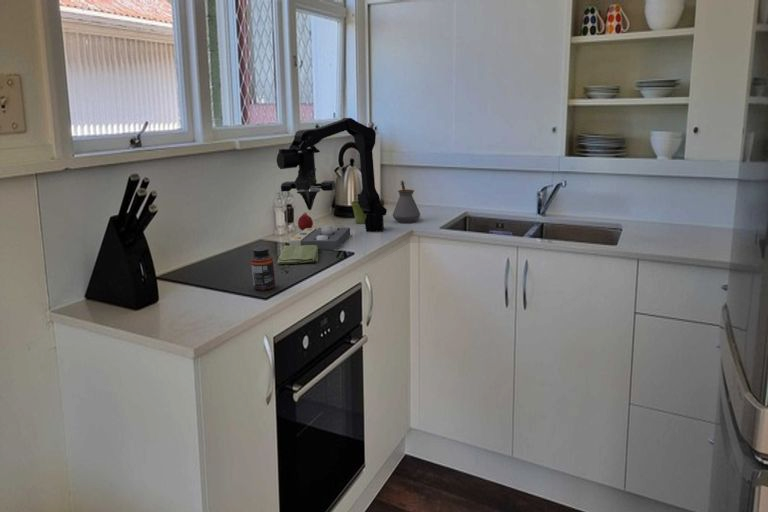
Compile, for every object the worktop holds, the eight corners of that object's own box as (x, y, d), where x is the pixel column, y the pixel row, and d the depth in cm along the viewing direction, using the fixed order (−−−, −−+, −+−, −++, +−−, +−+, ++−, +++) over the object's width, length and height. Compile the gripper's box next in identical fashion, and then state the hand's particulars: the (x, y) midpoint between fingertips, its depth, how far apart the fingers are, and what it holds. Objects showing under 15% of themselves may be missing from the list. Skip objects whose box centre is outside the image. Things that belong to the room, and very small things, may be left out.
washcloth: (276, 267, 189) (275, 257, 188) (282, 253, 206) (281, 244, 205) (318, 265, 190) (317, 255, 189) (320, 251, 207) (320, 242, 206)
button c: (329, 244, 213) (328, 234, 212) (326, 247, 209) (326, 237, 208) (318, 244, 213) (318, 234, 212) (315, 247, 209) (314, 237, 208)
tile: (316, 235, 228) (316, 227, 228) (301, 248, 209) (300, 239, 209) (306, 235, 229) (305, 227, 228) (290, 248, 210) (289, 239, 209)
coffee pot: (421, 223, 244) (421, 186, 240) (393, 224, 243) (392, 188, 239) (416, 213, 264) (415, 179, 261) (390, 214, 264) (389, 181, 260)
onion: (310, 234, 232) (309, 213, 230) (296, 234, 233) (295, 213, 231) (315, 230, 237) (313, 211, 235) (301, 230, 238) (300, 211, 236)
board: (350, 235, 227) (350, 227, 226) (336, 249, 206) (336, 241, 205) (319, 235, 229) (319, 227, 228) (302, 249, 208) (302, 241, 207)
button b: (334, 234, 219) (333, 225, 218) (331, 237, 215) (330, 227, 214) (323, 234, 219) (322, 225, 218) (320, 237, 216) (319, 227, 215)
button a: (338, 236, 226) (338, 226, 225) (336, 238, 222) (335, 228, 221) (328, 235, 227) (328, 226, 226) (325, 238, 223) (325, 228, 222)
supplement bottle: (264, 283, 171) (261, 244, 168) (279, 286, 168) (276, 247, 165) (249, 289, 166) (245, 249, 163) (264, 292, 163) (260, 252, 160)
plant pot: (373, 224, 245) (373, 203, 243) (350, 225, 246) (349, 204, 243) (374, 219, 254) (373, 199, 252) (352, 220, 255) (351, 200, 252)
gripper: (274, 169, 205) (277, 214, 209) (326, 168, 202) (329, 214, 206) (284, 165, 216) (287, 208, 220) (334, 164, 213) (337, 208, 217)
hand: (309, 209), depth 215 cm, fingers closed
